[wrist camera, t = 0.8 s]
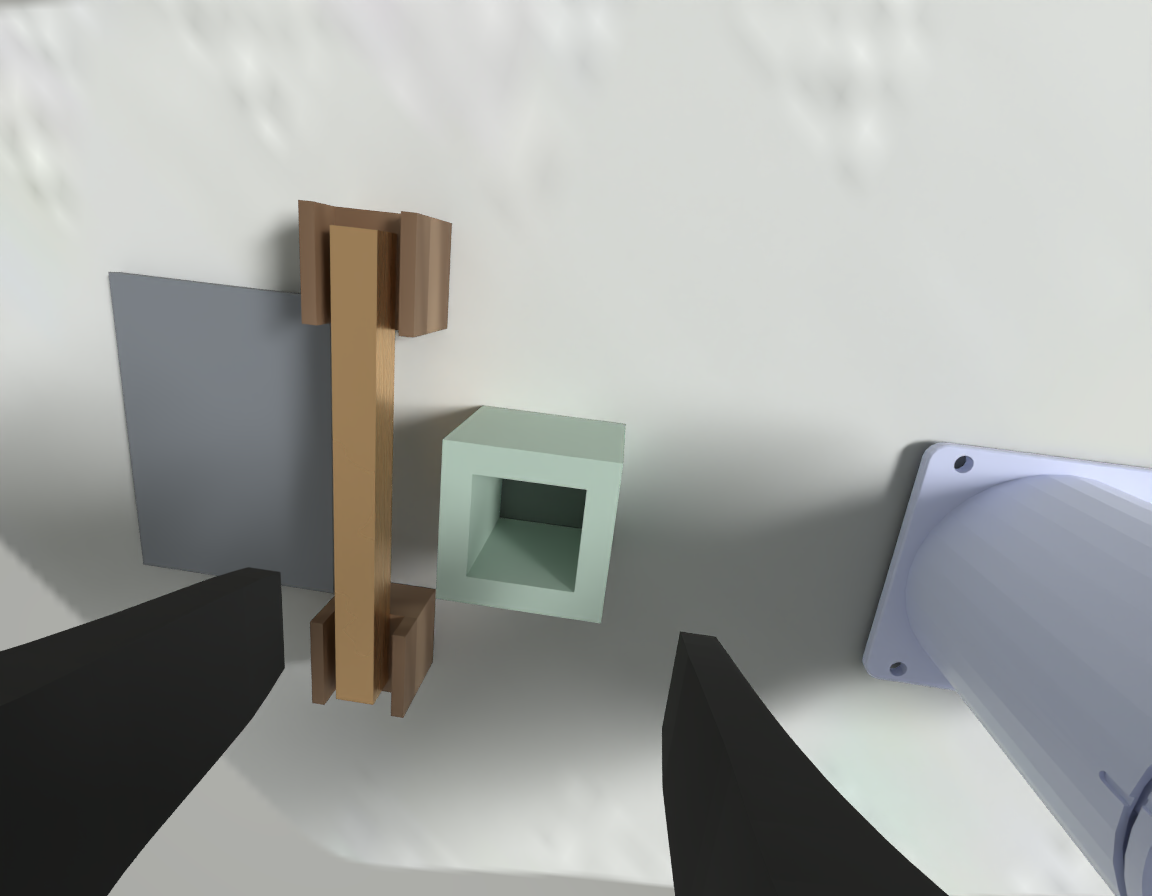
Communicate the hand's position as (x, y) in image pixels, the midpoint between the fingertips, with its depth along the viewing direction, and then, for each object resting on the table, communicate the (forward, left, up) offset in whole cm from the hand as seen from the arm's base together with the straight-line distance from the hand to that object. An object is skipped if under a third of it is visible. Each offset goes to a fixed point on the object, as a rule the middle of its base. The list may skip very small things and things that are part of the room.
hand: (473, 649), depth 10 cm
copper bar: (+5, 0, -7) cm, 9 cm away
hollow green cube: (0, 0, -9) cm, 9 cm away
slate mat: (+10, 0, -9) cm, 14 cm away
